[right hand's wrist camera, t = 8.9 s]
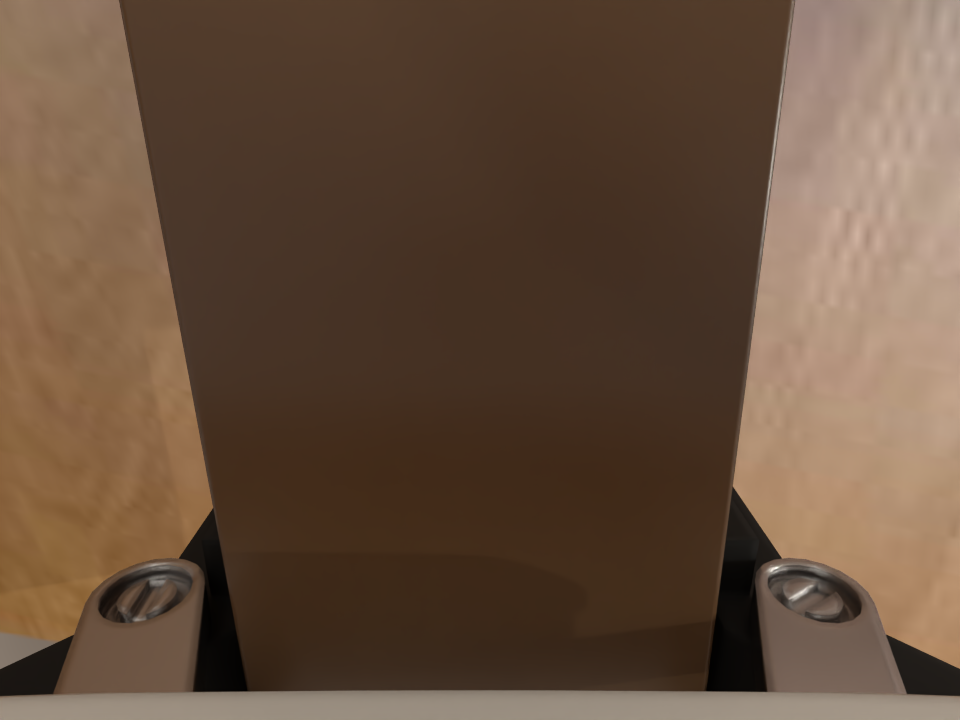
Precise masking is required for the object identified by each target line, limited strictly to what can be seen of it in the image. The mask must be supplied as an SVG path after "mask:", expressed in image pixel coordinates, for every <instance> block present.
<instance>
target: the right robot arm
mask: <svg viewBox="0 0 960 720" xmlns="http://www.w3.org/2000/svg"><path fill="white" fill-rule="evenodd" d="M0 720H960V669H959V668H956V667H954V666H952V665H950V664H948V663H946V662H944V661H941V660H939V659H937V658H935V657H933V656H931V655H929V654H927V653H924V652H922V651H920V650H918V649H916V648H914V647H912V646H909V645H907V644H905V643H903V642H901V641H899V640H897V639H895V638H892V637H890V636H888V635H886V634H885V631H884V628H883V625H882V623H881V620H880V617H879V614H878V611H877V608H876V606H875V603H874V602H873V600H872V598H871V597H870V595H869V593H868V592H867V591H866V590H865V589H864V588H863V587H862V586H861V585H860V584H859V583H858V582H857V581H855V580H854V579H852V578H851V577H849V576H847V575H846V574H844V573H843V572H841V571H839V570H836V569H834V568H832V567H829V566H827V565H825V564H822V563H818V562H814V561H810V560H806V559H795V558H784V559H782V558H781V556H780V555H779V554H778V552H777V551H776V549H775V548H774V546H773V545H772V543H771V542H770V540H769V539H768V537H767V536H766V534H765V533H764V532H763V530H762V529H761V527H760V526H759V524H758V523H757V521H756V520H755V518H754V517H753V515H752V514H751V513H750V511H749V510H748V508H747V507H746V505H745V504H744V502H743V501H742V499H741V498H740V496H739V495H738V494H737V492H736V491H735V489H734V488H733V487H732V495H731V502H730V510H729V518H728V526H727V534H726V541H725V549H724V557H723V565H722V572H721V580H720V588H719V596H718V604H717V611H716V619H715V627H714V635H713V642H712V650H711V658H710V666H709V674H708V681H707V689H706V691H565V690H418V691H250V692H248V691H247V686H246V681H245V675H244V670H243V665H242V659H241V654H240V648H239V643H238V638H237V632H236V627H235V621H234V616H233V611H232V605H231V600H230V595H229V589H228V584H227V578H226V573H225V568H224V562H223V557H222V552H221V546H220V541H219V535H218V530H217V525H216V519H215V514H214V508H213V509H212V511H211V512H210V514H209V515H208V516H207V518H206V519H205V521H204V522H203V524H202V525H201V527H200V528H199V530H198V531H197V533H196V534H195V535H194V537H193V538H192V540H191V541H190V543H189V544H188V546H187V547H186V549H185V550H184V552H183V553H182V554H181V556H180V557H179V559H176V558H165V559H154V560H150V561H146V562H142V563H138V564H135V565H133V566H131V567H128V568H126V569H124V570H121V571H119V572H117V573H116V574H114V575H113V576H111V577H109V578H108V579H106V580H105V581H103V582H102V583H101V584H100V585H99V586H98V587H97V588H96V589H95V590H94V591H93V592H92V593H91V595H90V597H89V598H88V600H87V602H86V603H85V606H84V608H83V611H82V614H81V617H80V620H79V623H78V625H77V628H76V631H75V634H74V635H72V636H70V637H68V638H66V639H64V640H62V641H60V642H57V643H55V644H53V645H51V646H49V647H47V648H45V649H43V650H40V651H38V652H36V653H34V654H32V655H30V656H28V657H25V658H23V659H21V660H19V661H17V662H15V663H13V664H11V665H8V666H6V667H4V668H2V669H0Z"/></svg>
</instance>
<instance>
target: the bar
mask: <svg viewBox="0 0 960 720" xmlns="http://www.w3.org/2000/svg"><path fill="white" fill-rule="evenodd" d="M119 2H120V8H121V13H122V19H123V24H124V29H125V35H126V40H127V45H128V51H129V56H130V62H131V67H132V72H133V78H134V83H135V89H136V94H137V99H138V105H139V110H140V115H141V121H142V126H143V132H144V137H145V142H146V148H147V153H148V159H149V164H150V169H151V175H152V180H153V185H154V191H155V196H156V202H157V207H158V212H159V218H160V223H161V229H162V234H163V239H164V245H165V250H166V255H167V261H168V266H169V272H170V277H171V282H172V288H173V293H174V298H175V304H176V309H177V315H178V320H179V325H180V331H181V336H182V342H183V347H184V352H185V358H186V363H187V368H188V374H189V379H190V385H191V390H192V395H193V401H194V406H195V412H196V417H197V422H198V428H199V433H200V438H201V444H202V449H203V455H204V460H205V465H206V471H207V476H208V482H209V487H210V492H211V498H212V503H213V508H214V514H215V519H216V525H217V530H218V535H219V541H220V546H221V552H222V557H223V562H224V568H225V573H226V578H227V584H228V589H229V595H230V600H231V605H232V611H233V616H234V621H235V627H236V632H237V638H238V643H239V648H240V654H241V659H242V665H243V670H244V675H245V681H246V686H247V691H248V692H250V691H418V690H565V691H706V689H707V681H708V674H709V666H710V658H711V650H712V642H713V635H714V627H715V619H716V611H717V604H718V596H719V588H720V580H721V572H722V565H723V557H724V549H725V541H726V534H727V526H728V518H729V510H730V502H731V495H732V487H733V479H734V471H735V464H736V456H737V448H738V440H739V433H740V425H741V417H742V409H743V401H744V394H745V386H746V378H747V370H748V363H749V355H750V347H751V339H752V331H753V324H754V316H755V308H756V300H757V293H758V285H759V277H760V269H761V261H762V254H763V246H764V238H765V230H766V223H767V215H768V207H769V199H770V191H771V184H772V176H773V168H774V160H775V153H776V145H777V137H778V129H779V122H780V114H781V106H782V98H783V90H784V83H785V75H786V67H787V59H788V52H789V44H790V36H791V28H792V20H793V13H794V5H795V0H119Z"/></svg>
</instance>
